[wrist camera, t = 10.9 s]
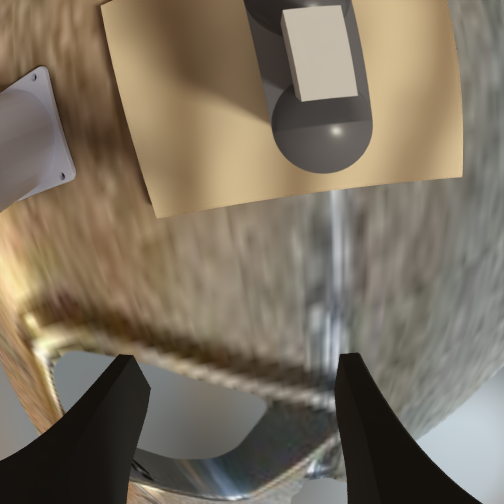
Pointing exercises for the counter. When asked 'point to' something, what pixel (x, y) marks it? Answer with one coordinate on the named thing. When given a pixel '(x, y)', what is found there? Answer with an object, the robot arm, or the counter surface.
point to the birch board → (255, 108)
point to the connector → (313, 80)
